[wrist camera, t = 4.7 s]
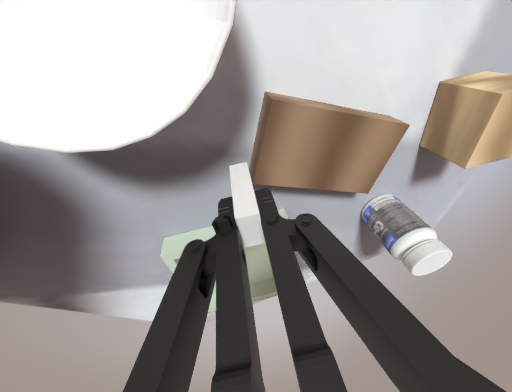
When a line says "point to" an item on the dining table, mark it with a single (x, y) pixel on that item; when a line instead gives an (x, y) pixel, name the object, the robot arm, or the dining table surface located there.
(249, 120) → the dining table surface
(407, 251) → the pill bottle
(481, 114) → the wooden block
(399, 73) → the dining table surface
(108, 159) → the dining table surface
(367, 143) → the brown cardboard box
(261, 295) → the tray
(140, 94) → the bowl
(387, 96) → the dining table surface
